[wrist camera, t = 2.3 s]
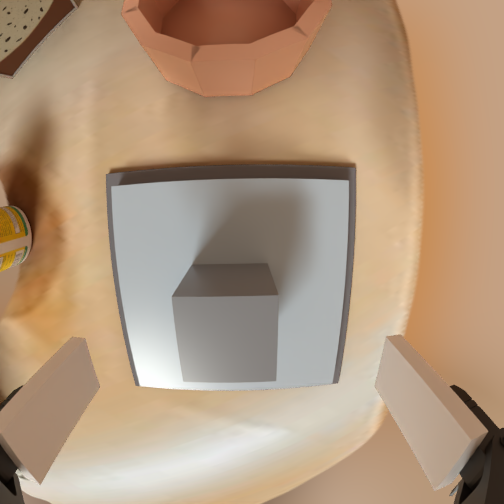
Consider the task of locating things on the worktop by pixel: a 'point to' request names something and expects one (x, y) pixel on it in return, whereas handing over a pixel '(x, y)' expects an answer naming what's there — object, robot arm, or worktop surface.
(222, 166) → the tray
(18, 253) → the supplement bottle
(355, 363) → the worktop surface
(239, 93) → the bowl
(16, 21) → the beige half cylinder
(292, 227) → the lid
